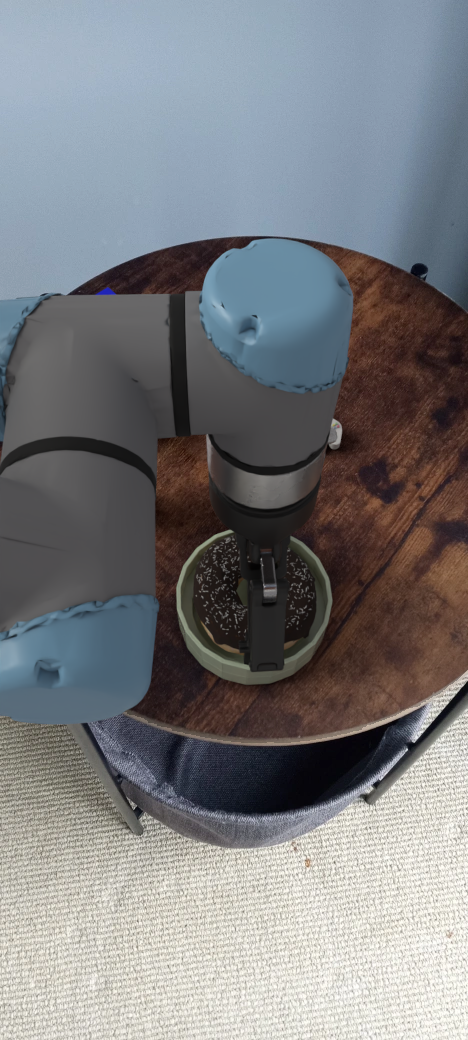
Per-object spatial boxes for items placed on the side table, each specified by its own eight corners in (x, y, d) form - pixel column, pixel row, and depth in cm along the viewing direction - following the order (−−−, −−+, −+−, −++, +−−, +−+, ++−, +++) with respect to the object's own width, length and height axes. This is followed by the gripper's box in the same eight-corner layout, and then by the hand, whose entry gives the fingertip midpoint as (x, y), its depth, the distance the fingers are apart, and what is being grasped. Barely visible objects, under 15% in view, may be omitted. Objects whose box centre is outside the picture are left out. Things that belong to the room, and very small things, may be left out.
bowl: (181, 690, 66) (178, 673, 61) (177, 554, 73) (174, 530, 68) (333, 681, 66) (341, 664, 62) (315, 547, 73) (321, 522, 69)
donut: (228, 682, 62) (229, 667, 59) (170, 572, 68) (168, 553, 64) (337, 627, 65) (343, 610, 62) (273, 525, 70) (276, 504, 67)
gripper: (347, 632, 41) (309, 727, 60) (302, 329, 53) (281, 488, 72) (217, 639, 41) (220, 732, 60) (200, 333, 53) (207, 491, 72)
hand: (253, 599), depth 66 cm, fingers closed on donut, 11 cm apart
